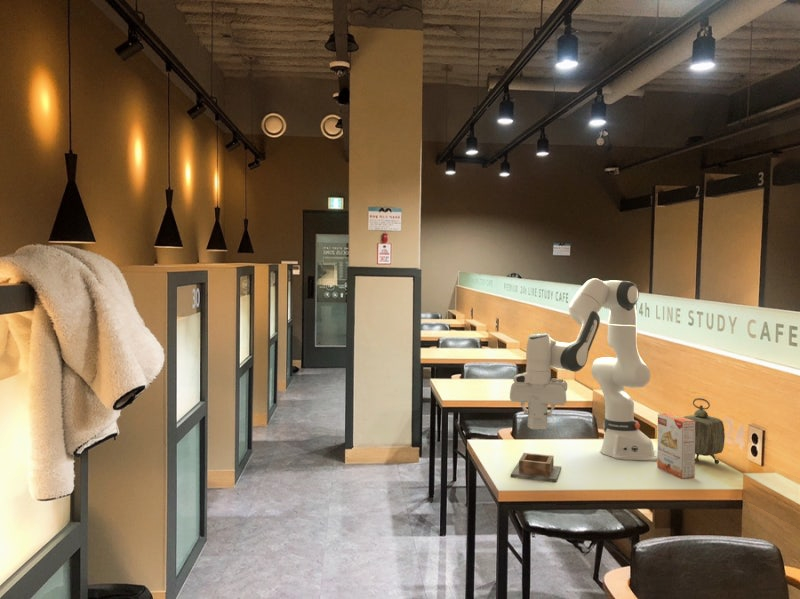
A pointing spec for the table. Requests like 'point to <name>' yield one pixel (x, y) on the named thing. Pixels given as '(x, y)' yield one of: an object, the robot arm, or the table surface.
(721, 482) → the table surface
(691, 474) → the cracker box
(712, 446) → the tabletop clock
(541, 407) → the skincare box
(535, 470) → the box holder
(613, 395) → the robot arm
